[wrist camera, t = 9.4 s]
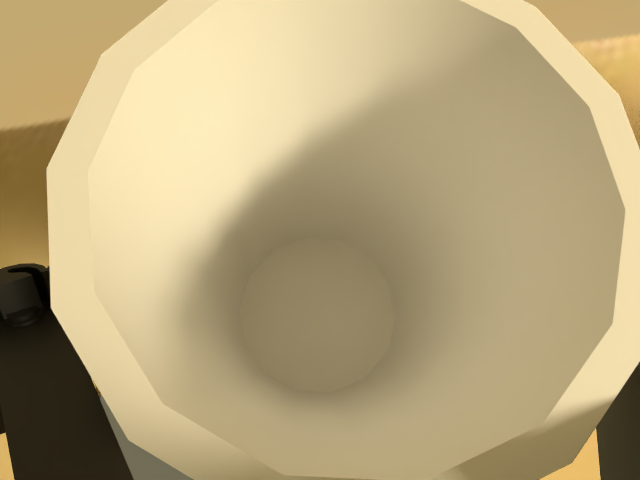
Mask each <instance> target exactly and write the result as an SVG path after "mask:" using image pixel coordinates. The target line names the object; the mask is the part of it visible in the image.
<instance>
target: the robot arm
mask: <svg viewBox="0 0 640 480" xmlns="http://www.w3.org/2000/svg"><path fill="white" fill-rule="evenodd" d="M596 430H597V442H598V453H599V465H600V476H601V480H640V362H639V363H638V365H637V366H636V368H635V369H634V371H633V372H632V374H631V375H630V377H629V378H628V380H627V381H626V383H625V384H624V386H623V387H622V389H621V390H620V392H619V393H618V395H617V396H616V398H615V399H614V401H613V402H612V404H611V405H610V407H609V408H608V410H607V411H606V413H605V414H604V416H603V417H602V419H601V420H600V422H599V423H598V425H597V426H596ZM5 432H6V437H7V442H8V447H9V452H10V458H11V463H12V468H13V473H14V479H15V480H134V479H133V476H132V474H131V472H130V469H129V467H128V465H127V462H126V460H125V458H124V455H123V453H122V450H121V448H120V446H119V443H118V441H117V439H116V436H115V434H114V431H113V429H112V427H111V424H110V422H109V420H108V417H107V415H106V413H105V410H104V408H103V405H102V403H101V401H100V398H99V396H98V394H97V391H96V389H95V387H94V384H93V382H92V379H91V376H90V374H89V372H88V371H87V369H86V367H85V365H84V364H83V362H82V360H81V359H80V357H79V355H78V353H77V352H76V350H75V348H74V347H73V345H72V343H71V342H70V340H69V338H68V336H67V335H66V333H65V331H64V330H63V328H62V326H61V324H60V323H59V321H58V319H57V318H56V316H55V314H54V313H53V311H52V309H51V297H50V266H48V268H45V267H44V266H43V265H38V264H34V263H33V264H18V265H13V266H8V267H5V268H2V269H0V434H2V433H5Z"/></svg>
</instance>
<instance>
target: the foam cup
mask: <svg viewBox="0 0 640 480" xmlns="http://www.w3.org/2000/svg"><path fill="white" fill-rule="evenodd" d="M46 172H47V204H48V235H49V266H50V297H51V309H52V311H53V313H54V314H55V316H56V318H57V319H58V321H59V323H60V324H61V326H62V328H63V330H64V331H65V333H66V335H67V336H68V338H69V340H70V342H71V343H72V345H73V347H74V348H75V350H76V352H77V353H78V355H79V357H80V359H81V360H82V362H83V364H84V365H85V367H86V369H87V371H88V372H89V374H90V376H91V377H92V379H93V381H94V382H95V384H96V386H97V388H98V389H99V391H100V393H101V394H102V396H103V398H104V399H105V401H106V403H107V405H108V406H109V408H110V410H111V411H112V413H113V415H114V417H115V418H116V420H117V422H118V423H119V425H120V427H121V428H122V430H123V432H124V434H125V435H126V437H127V439H128V440H129V441H130V442H132V443H134V444H135V445H137V446H139V447H140V448H142V449H144V450H145V451H147V452H149V453H150V454H152V455H154V456H155V457H157V458H159V459H160V460H162V461H164V462H165V463H167V464H169V465H170V466H172V467H174V468H175V469H177V470H179V471H180V472H182V473H183V474H185V475H187V476H188V477H190V478H192V479H193V480H539V479H541V478H543V477H545V476H547V475H549V474H551V473H553V472H555V471H557V470H559V469H561V468H563V467H565V466H567V465H569V464H571V463H572V462H573V461H574V459H575V458H576V456H577V455H578V453H579V452H580V450H581V449H582V447H583V446H584V444H585V443H586V441H587V440H588V438H589V437H590V435H591V434H592V432H593V431H594V429H595V428H596V426H597V425H598V423H599V422H600V420H601V419H602V417H603V416H604V414H605V413H606V411H607V410H608V408H609V407H610V405H611V404H612V402H613V401H614V399H615V398H616V396H617V395H618V393H619V392H620V390H621V389H622V387H623V386H624V384H625V383H626V381H627V380H628V378H629V377H630V375H631V374H632V372H633V371H634V369H635V368H636V366H637V365H638V363H639V362H640V149H639V146H638V144H637V141H636V138H635V136H634V133H633V130H632V128H631V125H630V122H629V120H628V117H627V114H626V112H625V109H624V106H623V104H622V101H621V98H620V96H619V94H618V93H617V92H616V91H615V90H614V89H613V88H612V87H611V86H610V85H609V84H608V83H607V81H606V80H605V79H604V78H603V77H602V76H601V75H600V74H599V73H598V72H597V71H596V70H595V69H594V68H593V67H592V66H591V65H590V63H589V62H588V61H587V60H586V59H585V58H584V57H583V56H582V55H581V54H580V53H579V52H578V51H577V50H576V49H575V48H574V47H573V46H572V44H571V43H570V42H569V41H568V40H567V39H566V38H565V37H564V36H563V35H562V34H561V33H560V32H559V31H558V30H557V29H556V28H555V26H553V24H552V23H551V22H550V21H549V20H548V19H547V18H546V17H545V16H544V15H543V14H542V13H541V12H540V11H539V10H538V9H537V8H536V7H535V6H533V5H531V4H529V3H527V2H525V1H523V0H168V1H167V2H165V3H164V4H163V5H162V6H160V7H159V8H158V9H157V10H156V11H154V12H153V13H152V14H151V15H149V16H148V17H147V18H146V19H144V20H143V21H142V22H141V23H139V24H138V25H137V26H136V27H135V28H133V29H132V30H131V31H129V32H128V33H127V34H126V35H124V36H123V37H122V38H121V39H120V40H118V41H117V42H116V43H115V44H113V45H112V46H111V47H110V48H108V49H107V50H106V51H105V52H103V53H102V55H101V57H100V59H99V61H98V63H97V65H96V67H95V69H94V71H93V73H92V76H91V77H90V80H89V82H88V84H87V86H86V88H85V90H84V92H83V94H82V96H81V98H80V100H79V102H78V105H77V107H76V109H75V111H74V113H73V115H72V117H71V119H70V121H69V123H68V125H67V127H66V129H65V131H64V133H63V136H62V138H61V140H60V142H59V144H58V146H57V148H56V150H55V152H54V154H53V156H52V158H51V160H50V162H49V165H48V167H47V169H46Z"/></svg>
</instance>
